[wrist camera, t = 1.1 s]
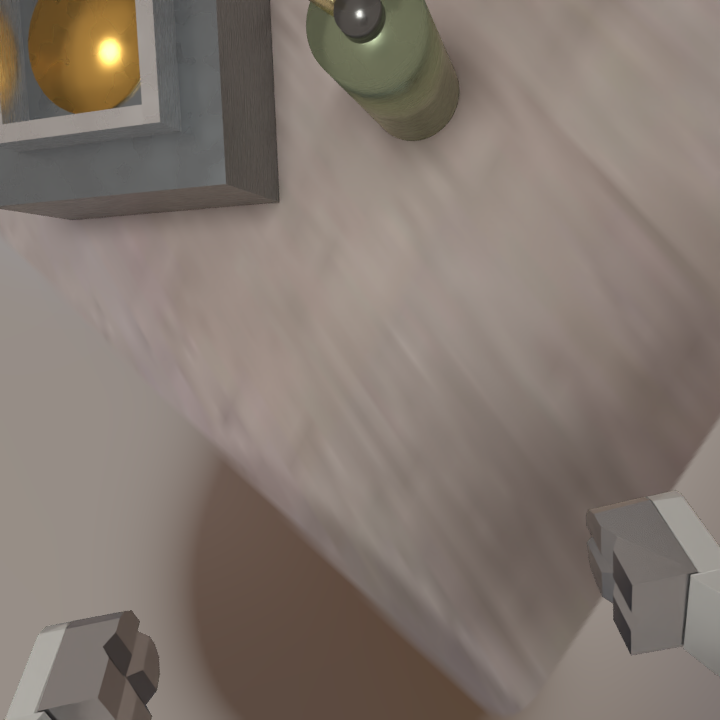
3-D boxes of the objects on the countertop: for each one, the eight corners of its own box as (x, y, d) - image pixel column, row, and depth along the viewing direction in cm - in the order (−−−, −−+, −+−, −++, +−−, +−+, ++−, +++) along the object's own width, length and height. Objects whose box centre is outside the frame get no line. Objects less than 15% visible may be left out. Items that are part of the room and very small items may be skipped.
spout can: (476, 74, 37) (440, -32, 25) (428, 156, 38) (372, 93, 26) (388, 26, 38) (313, -98, 26) (344, 107, 39) (253, 25, 27)
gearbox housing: (50, -63, 44) (-73, -150, 35) (264, -114, 39) (183, -229, 30) (71, 219, 45) (-40, 202, 37) (279, 202, 41) (206, 177, 32)
